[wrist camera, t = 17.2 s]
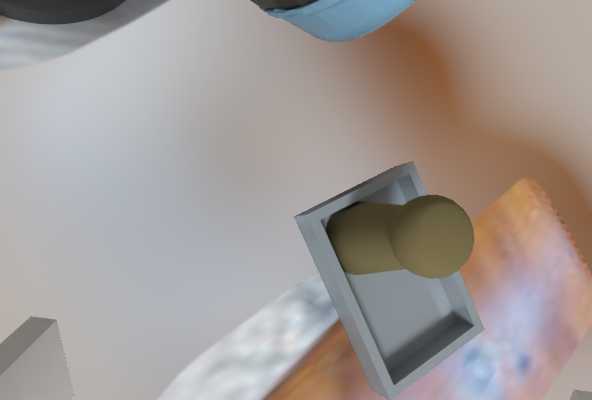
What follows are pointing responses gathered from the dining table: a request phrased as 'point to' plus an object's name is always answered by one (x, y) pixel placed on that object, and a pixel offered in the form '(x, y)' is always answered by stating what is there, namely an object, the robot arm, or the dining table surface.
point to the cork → (402, 237)
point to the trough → (391, 295)
